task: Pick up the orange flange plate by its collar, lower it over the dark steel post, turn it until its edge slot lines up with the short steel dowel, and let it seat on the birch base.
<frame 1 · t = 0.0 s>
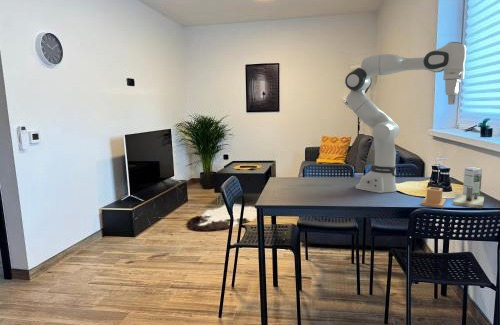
hand: (451, 104, 174), 48 cm above the table, tool pointing down, fingers open, 8 cm apart
post base: (468, 202, 172), on the table
syrup box: (471, 195, 186), on the table
pins: (472, 193, 171), on the post base, point 5 cm above the table
flange plate: (433, 203, 171), on the table
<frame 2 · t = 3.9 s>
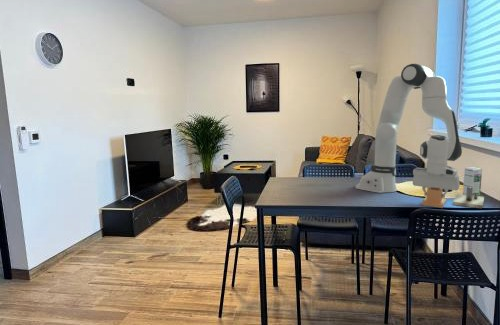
hand: (434, 196, 171), 3 cm above the table, tool pointing down, fingers closed on flange plate, 6 cm apart
flange plate: (434, 203, 171), on the table, touching gripper
everything else where it was.
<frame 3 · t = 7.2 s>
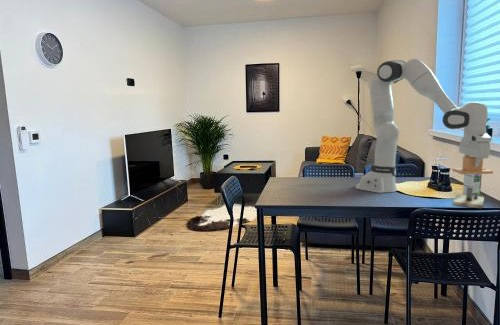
hand: (471, 165, 167), 19 cm above the table, tool pointing down, fingers closed on flange plate, 6 cm apart
flange plate: (471, 172, 168), point 16 cm above the table, touching gripper
everything else where it was.
when the fingers open (6 cm above the table, at t = 10.6 s): flange plate stays where it is, resting on post base.
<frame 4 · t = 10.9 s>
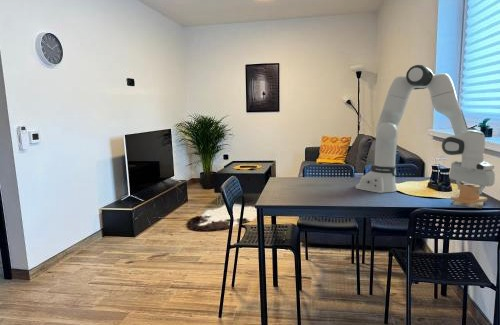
hand: (469, 191, 169), 6 cm above the table, tool pointing down, fingers open, 8 cm apart
flange plate: (468, 199, 170), point 1 cm above the table, touching post base
everything else where it was.
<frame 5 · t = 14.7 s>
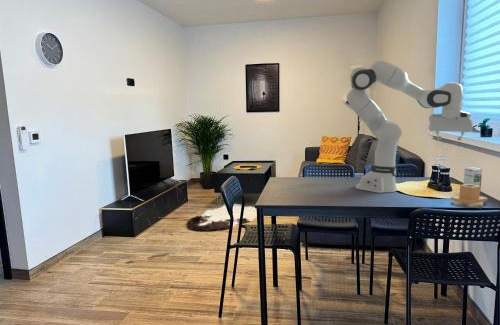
hand: (449, 140, 185), 29 cm above the table, tool pointing down, fingers open, 8 cm apart
nothing on the table moved.
at the end: flange plate 0.3 cm from the target spot on the post base, point 1.5 cm above the post base's base; flange plate tilted 0°; the gripper is holding nothing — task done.
